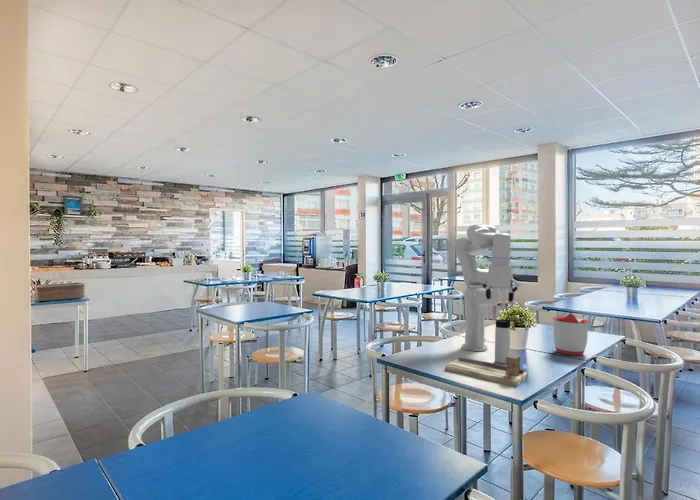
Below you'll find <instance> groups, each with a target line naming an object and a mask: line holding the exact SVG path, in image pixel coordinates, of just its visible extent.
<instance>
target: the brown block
mask: <svg viewBox="0 0 700 500" xmlns="http://www.w3.org/2000/svg"><path fill="white" fill-rule="evenodd" d="M505 366H506V374H508V375H513V376H517V375H518V374H520V369H521V355H517V354H512V353H509V355H508V356H507V357H506V365H505Z"/></svg>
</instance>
